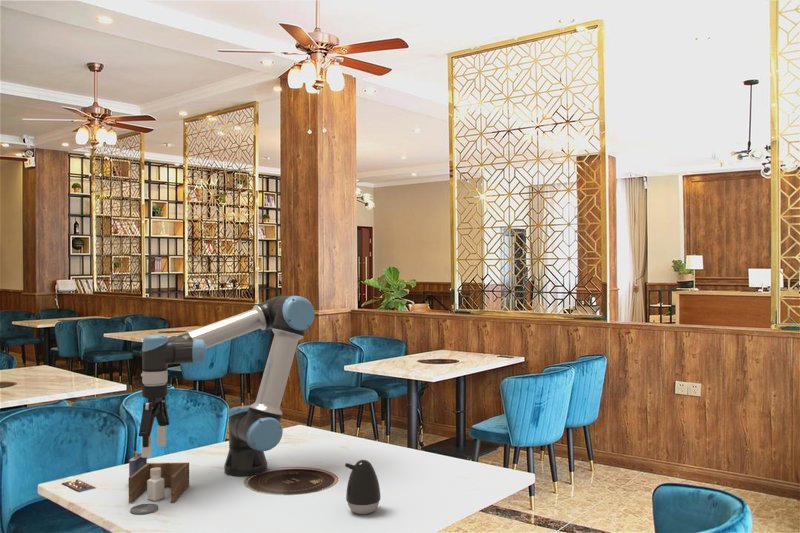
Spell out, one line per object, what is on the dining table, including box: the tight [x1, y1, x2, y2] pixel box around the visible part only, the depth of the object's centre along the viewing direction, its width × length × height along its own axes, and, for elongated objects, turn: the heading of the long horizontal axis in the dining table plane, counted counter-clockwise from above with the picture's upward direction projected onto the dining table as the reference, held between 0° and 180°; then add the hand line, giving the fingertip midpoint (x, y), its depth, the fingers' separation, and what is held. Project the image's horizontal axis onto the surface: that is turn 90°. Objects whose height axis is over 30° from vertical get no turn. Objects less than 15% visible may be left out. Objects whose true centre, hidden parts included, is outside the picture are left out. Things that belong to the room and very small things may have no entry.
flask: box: [128, 450, 148, 478], centre depth 232 cm, size 9×3×11 cm, turn 172°
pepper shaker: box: [146, 467, 165, 502], centre depth 215 cm, size 4×4×10 cm
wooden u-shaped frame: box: [128, 462, 190, 504], centre depth 219 cm, size 14×16×8 cm
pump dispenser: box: [344, 459, 381, 515], centre depth 202 cm, size 10×10×15 cm
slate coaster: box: [129, 503, 159, 516], centre depth 205 cm, size 8×8×1 cm
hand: (154, 451), depth 215 cm, fingers open, 13 cm apart
